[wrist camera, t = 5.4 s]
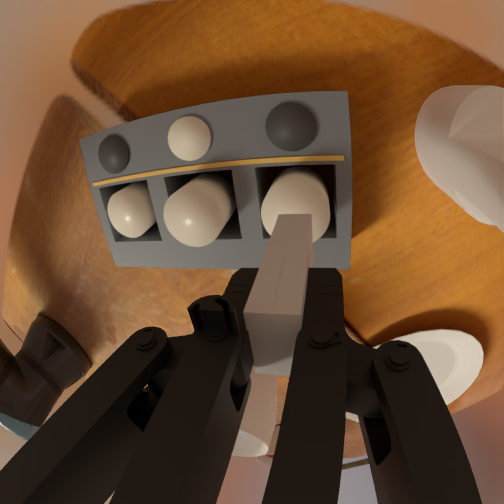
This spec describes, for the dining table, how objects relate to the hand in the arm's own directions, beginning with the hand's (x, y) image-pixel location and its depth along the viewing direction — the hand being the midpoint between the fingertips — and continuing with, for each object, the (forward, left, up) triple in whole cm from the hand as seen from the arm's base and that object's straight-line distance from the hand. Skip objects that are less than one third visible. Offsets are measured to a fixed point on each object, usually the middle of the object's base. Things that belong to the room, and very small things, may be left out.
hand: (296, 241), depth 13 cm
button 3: (0, 0, -7) cm, 7 cm away
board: (-7, +1, -9) cm, 12 cm away
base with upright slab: (+13, +4, -10) cm, 17 cm away
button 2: (-7, 0, -7) cm, 10 cm away
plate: (+13, -24, -10) cm, 29 cm away
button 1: (-13, 0, -9) cm, 16 cm away
